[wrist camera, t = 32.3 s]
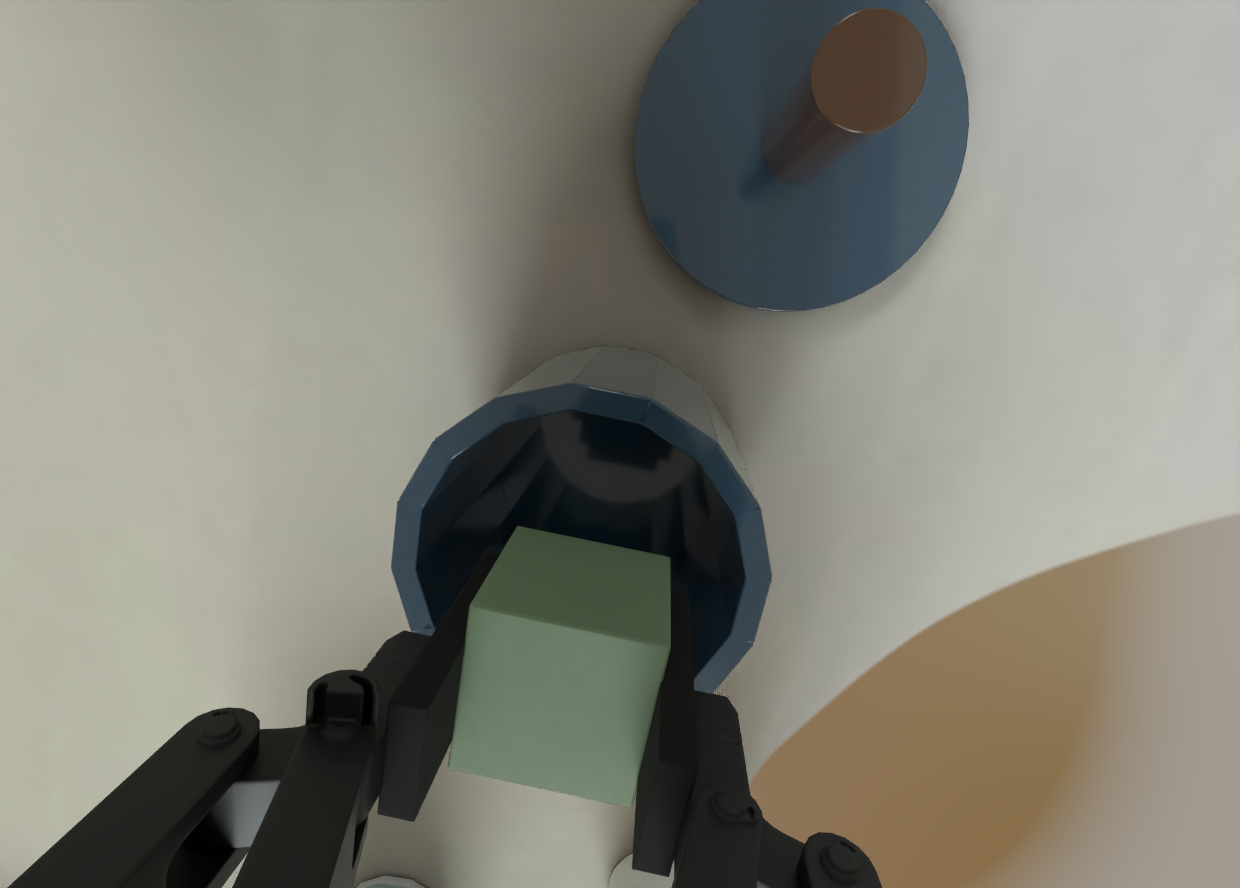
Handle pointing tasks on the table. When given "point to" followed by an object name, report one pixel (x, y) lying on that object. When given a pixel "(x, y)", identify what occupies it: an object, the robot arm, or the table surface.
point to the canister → (594, 493)
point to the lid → (800, 145)
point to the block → (563, 666)
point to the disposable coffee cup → (390, 883)
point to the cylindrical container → (637, 877)
